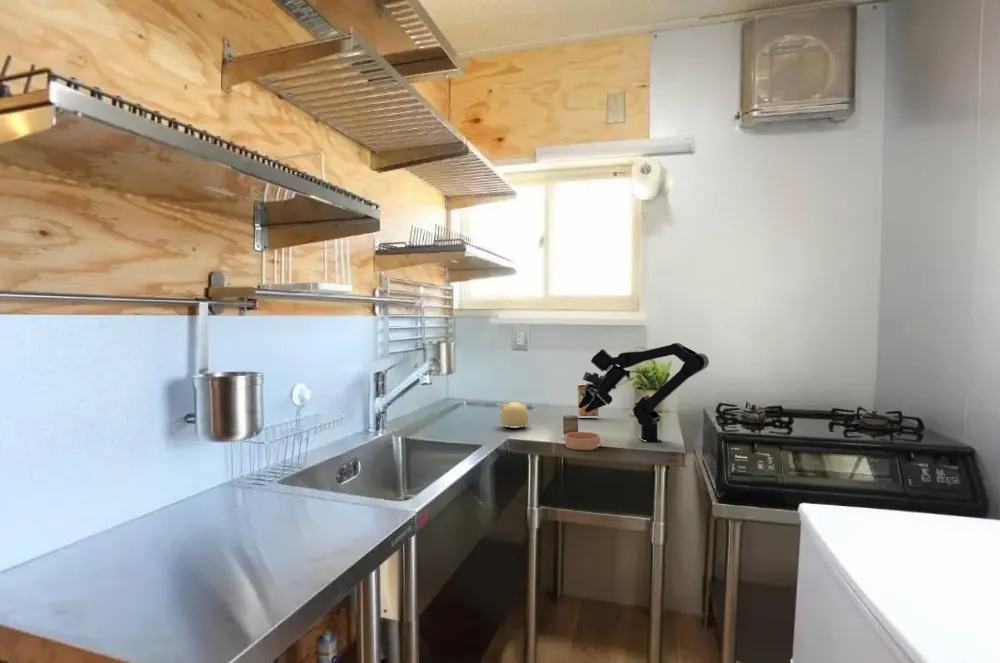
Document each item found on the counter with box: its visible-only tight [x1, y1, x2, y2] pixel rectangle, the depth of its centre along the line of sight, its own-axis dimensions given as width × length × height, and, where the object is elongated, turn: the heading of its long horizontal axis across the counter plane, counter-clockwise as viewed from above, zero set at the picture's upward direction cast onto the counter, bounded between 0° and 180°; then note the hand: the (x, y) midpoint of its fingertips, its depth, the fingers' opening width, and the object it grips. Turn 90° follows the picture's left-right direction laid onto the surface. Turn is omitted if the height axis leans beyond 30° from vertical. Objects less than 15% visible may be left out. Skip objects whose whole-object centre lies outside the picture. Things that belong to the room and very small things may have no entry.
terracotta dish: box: [563, 431, 601, 451], centre depth 181 cm, size 12×12×4 cm
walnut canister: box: [562, 414, 579, 435], centre depth 192 cm, size 6×6×8 cm
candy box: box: [577, 383, 599, 417], centre depth 231 cm, size 9×4×15 cm, turn 86°
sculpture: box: [499, 401, 530, 426], centre depth 212 cm, size 12×12×11 cm
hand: (582, 409), depth 193 cm, fingers open, 9 cm apart
